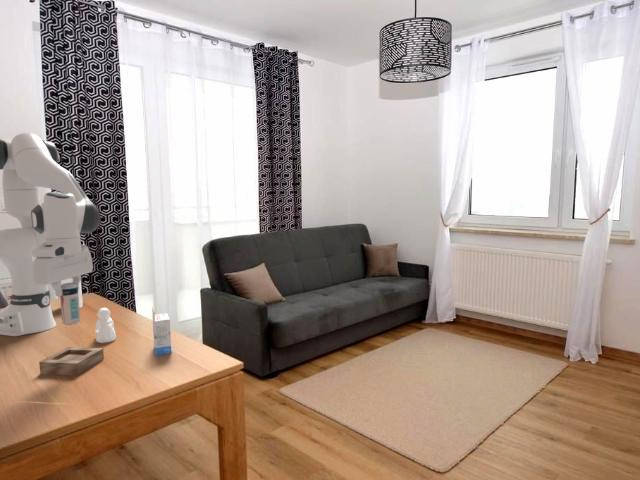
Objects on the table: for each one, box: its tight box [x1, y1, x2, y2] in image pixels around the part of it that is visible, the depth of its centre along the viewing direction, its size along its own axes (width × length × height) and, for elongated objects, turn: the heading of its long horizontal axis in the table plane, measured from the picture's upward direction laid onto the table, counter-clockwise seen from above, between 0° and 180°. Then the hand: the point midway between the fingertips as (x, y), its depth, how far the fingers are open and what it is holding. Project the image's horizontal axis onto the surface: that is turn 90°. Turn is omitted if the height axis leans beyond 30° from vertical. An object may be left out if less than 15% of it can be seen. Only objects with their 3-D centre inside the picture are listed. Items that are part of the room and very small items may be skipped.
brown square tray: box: [38, 346, 105, 377], centre depth 129 cm, size 12×12×4 cm
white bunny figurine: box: [94, 307, 117, 344], centre depth 151 cm, size 6×8×12 cm
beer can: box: [59, 283, 81, 326], centre depth 127 cm, size 5×5×12 cm
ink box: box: [151, 306, 172, 356], centre depth 141 cm, size 8×5×15 cm, turn 26°
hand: (67, 293), depth 127 cm, fingers closed on beer can, 5 cm apart
